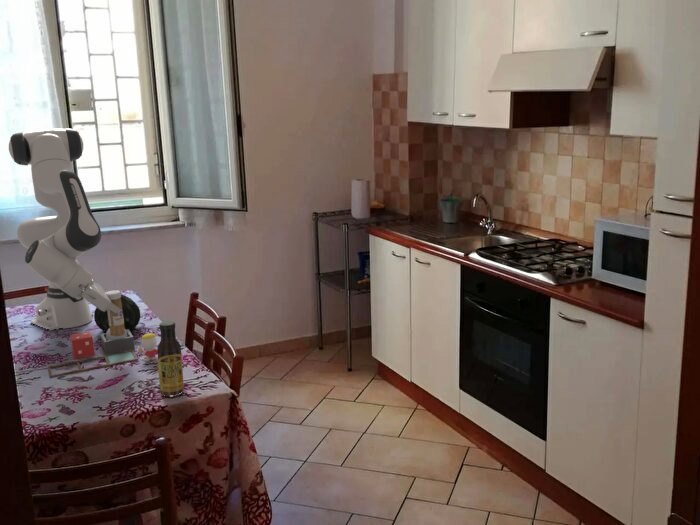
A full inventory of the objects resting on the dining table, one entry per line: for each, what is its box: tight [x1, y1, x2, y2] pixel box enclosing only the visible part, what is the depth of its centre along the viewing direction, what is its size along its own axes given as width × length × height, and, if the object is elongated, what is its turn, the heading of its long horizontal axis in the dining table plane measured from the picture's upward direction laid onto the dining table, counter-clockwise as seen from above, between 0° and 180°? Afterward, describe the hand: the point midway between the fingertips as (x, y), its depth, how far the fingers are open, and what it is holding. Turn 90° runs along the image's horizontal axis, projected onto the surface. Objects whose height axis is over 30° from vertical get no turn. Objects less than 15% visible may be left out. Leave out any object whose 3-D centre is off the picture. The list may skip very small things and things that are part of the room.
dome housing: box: [100, 329, 135, 355], centre depth 225 cm, size 9×9×4 cm
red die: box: [69, 331, 96, 359], centre depth 221 cm, size 6×6×6 cm
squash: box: [93, 293, 141, 333], centre depth 240 cm, size 14×15×15 cm
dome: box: [106, 328, 127, 341], centre depth 225 cm, size 6×6×6 cm
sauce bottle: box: [156, 320, 185, 396], centre depth 186 cm, size 7×6×20 cm
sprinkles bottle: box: [105, 289, 125, 337], centre depth 212 cm, size 5×5×14 cm
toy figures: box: [136, 332, 158, 362], centre depth 214 cm, size 12×4×8 cm, turn 112°
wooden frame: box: [47, 349, 139, 379], centre depth 212 cm, size 25×9×1 cm, turn 117°
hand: (116, 308), depth 212 cm, fingers closed on sprinkles bottle, 4 cm apart
